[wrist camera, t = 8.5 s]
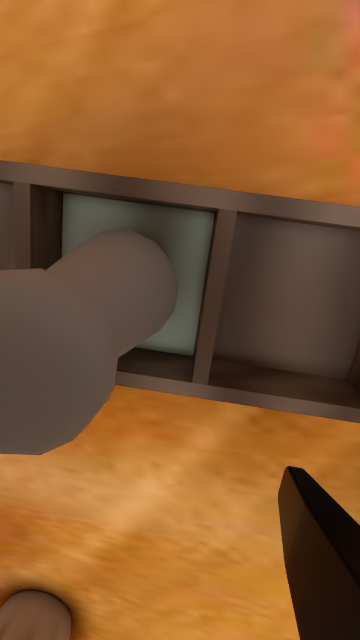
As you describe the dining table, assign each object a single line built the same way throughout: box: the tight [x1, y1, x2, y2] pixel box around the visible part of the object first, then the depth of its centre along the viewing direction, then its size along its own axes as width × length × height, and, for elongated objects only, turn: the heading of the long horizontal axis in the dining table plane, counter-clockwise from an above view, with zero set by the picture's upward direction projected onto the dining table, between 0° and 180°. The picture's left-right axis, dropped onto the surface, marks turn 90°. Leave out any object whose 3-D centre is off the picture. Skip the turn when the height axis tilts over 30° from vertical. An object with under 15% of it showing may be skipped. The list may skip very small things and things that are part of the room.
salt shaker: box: [0, 229, 179, 455], centre depth 13 cm, size 6×6×13 cm
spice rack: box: [0, 160, 360, 423], centre depth 18 cm, size 29×10×4 cm, turn 83°
